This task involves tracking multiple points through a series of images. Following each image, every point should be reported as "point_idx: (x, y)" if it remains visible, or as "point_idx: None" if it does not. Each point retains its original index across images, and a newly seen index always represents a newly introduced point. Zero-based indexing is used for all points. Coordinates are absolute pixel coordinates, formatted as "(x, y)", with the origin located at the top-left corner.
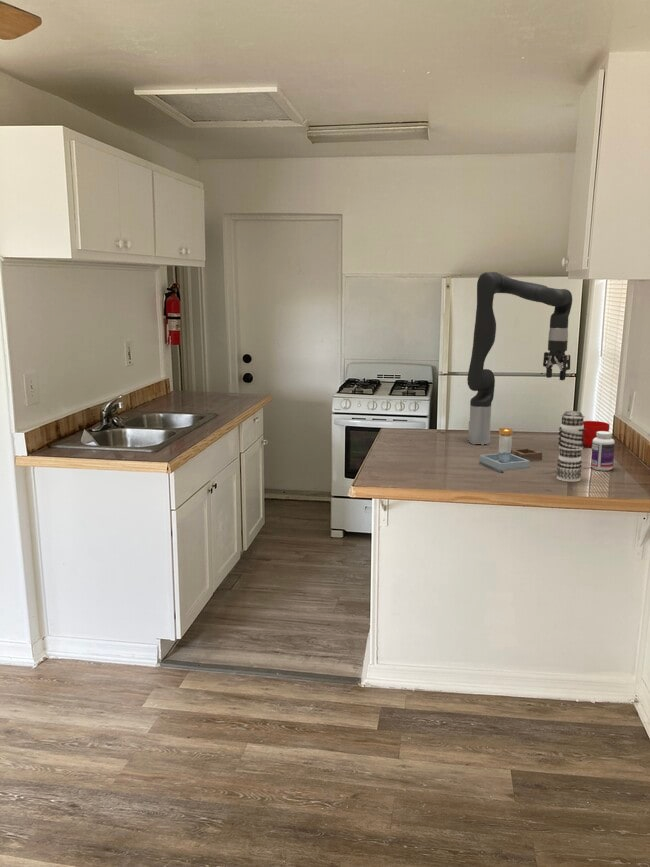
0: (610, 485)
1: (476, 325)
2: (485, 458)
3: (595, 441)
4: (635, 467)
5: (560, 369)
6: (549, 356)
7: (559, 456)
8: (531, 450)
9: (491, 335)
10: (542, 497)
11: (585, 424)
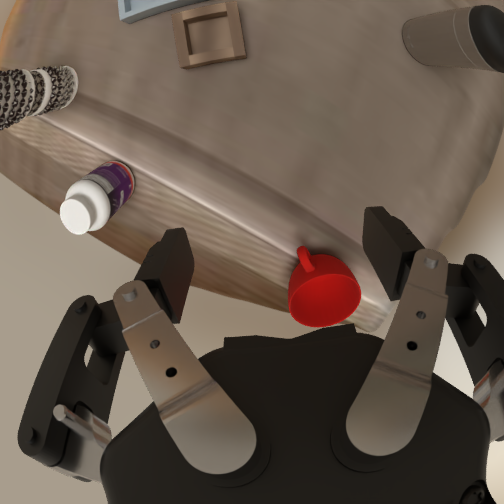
0: (28, 147)
1: None
2: None
3: (76, 183)
4: (127, 246)
5: (134, 288)
6: (459, 402)
7: (33, 70)
8: (214, 50)
9: None
10: (3, 33)
11: (356, 295)
